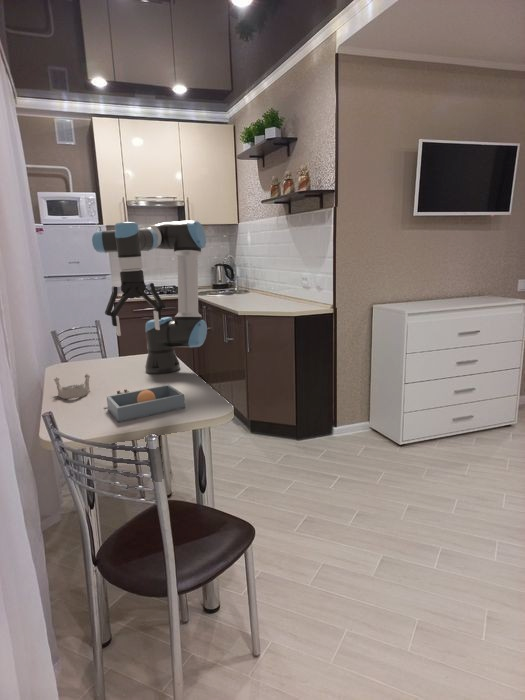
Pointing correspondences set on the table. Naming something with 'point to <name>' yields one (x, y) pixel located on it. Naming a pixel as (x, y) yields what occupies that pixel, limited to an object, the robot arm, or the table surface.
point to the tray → (145, 403)
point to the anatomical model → (73, 389)
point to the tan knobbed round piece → (122, 392)
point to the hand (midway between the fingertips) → (138, 332)
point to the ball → (145, 396)
